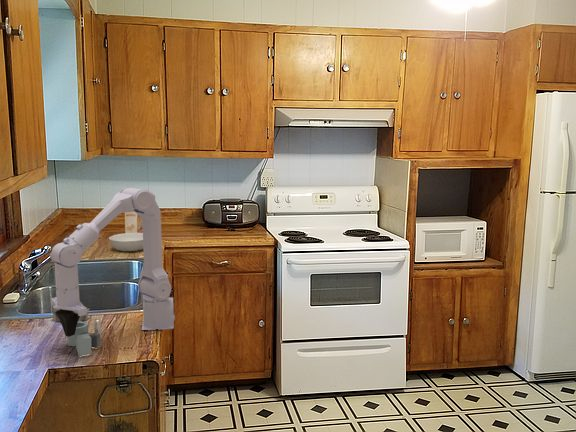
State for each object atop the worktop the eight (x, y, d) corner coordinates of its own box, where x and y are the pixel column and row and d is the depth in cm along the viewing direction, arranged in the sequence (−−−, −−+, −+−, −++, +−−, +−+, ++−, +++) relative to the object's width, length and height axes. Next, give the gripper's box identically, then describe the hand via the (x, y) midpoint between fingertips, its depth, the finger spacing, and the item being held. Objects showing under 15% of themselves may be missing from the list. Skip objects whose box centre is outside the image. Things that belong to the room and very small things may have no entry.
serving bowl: (109, 246, 279) (108, 233, 278) (151, 244, 286) (150, 231, 285) (109, 255, 260) (108, 241, 259) (154, 253, 266) (153, 239, 265)
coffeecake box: (138, 242, 291) (137, 206, 288) (124, 241, 292) (123, 205, 288) (145, 236, 306) (145, 202, 303) (133, 236, 306) (132, 202, 303)
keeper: (84, 345, 152) (83, 332, 151) (100, 347, 151) (99, 333, 150) (81, 347, 150) (80, 334, 150) (97, 349, 150) (96, 335, 149)
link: (66, 341, 155) (65, 323, 154) (86, 338, 157) (85, 320, 157) (74, 358, 143) (73, 339, 143) (96, 354, 146) (95, 335, 145)
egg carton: (48, 321, 171) (48, 309, 171) (66, 314, 178) (66, 302, 177) (75, 326, 167) (74, 313, 167) (92, 318, 174) (91, 306, 173)
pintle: (101, 339, 157) (100, 318, 156) (101, 341, 155) (100, 321, 154) (95, 339, 156) (94, 319, 155) (94, 342, 155) (93, 321, 154)
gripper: (39, 285, 147) (42, 333, 149) (68, 296, 138) (71, 346, 140) (63, 280, 152) (66, 325, 155) (92, 289, 144) (95, 338, 146)
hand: (70, 335), depth 148 cm, fingers closed
